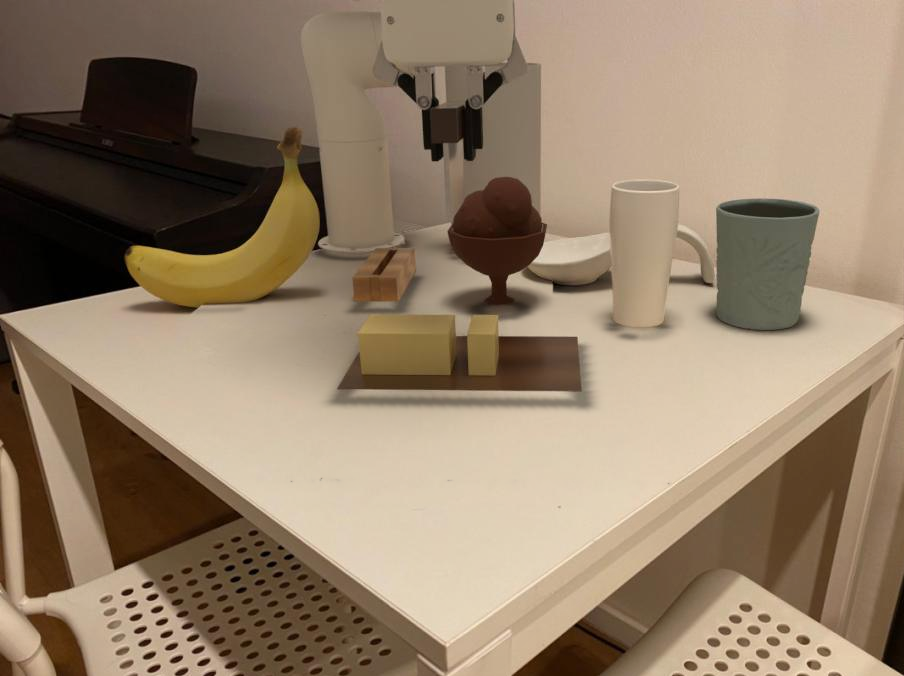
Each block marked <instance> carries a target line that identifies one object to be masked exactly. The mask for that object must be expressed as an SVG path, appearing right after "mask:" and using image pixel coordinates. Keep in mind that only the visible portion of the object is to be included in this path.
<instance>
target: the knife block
mask: <svg viewBox="0 0 904 676" xmlns="http://www.w3.org/2000/svg"><path fill="white" fill-rule="evenodd" d="M416 267H417V266H416V249H415V247H393V248H375V250H374V251H371V253H370V254H369V256H368V257H367V259H366V260H365V261H364V262H363V263H362V264H361V266H360V267H359V269H358V270H357V271H356V272H355V273H354V275H353V276H352V277H351V278H352V290H353V299H354V300H353V301H354V302H399V300H400V299H401V298H402V297H403V295H404V293H406V290H407V288H408V286H409V285H410V283H411V281H412V279H413V277H414V276H415V274H416V272H417V268H416Z"/></svg>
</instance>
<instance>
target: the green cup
mask: <svg viewBox="0 0 904 676" xmlns="http://www.w3.org/2000/svg"><path fill="white" fill-rule="evenodd" d="M819 215H820V209H819V208H818V207H817V206H816V205H814V204H811V203H808V202H805V201H799V200H792V199H783V198H741V199H734V200H727V201H723V202H721V203H719V204H717V206H716V208H715V218H716V220H715V221H716V223H715V224H716V261H715V263H716V264H715V265H716V290H717V294H716V316H717V318H718V319H719V320H720V321H722V322H723V323H725V324H728V325H730V326H734V327H736V328H740V329H741V328H742V329H747V330H752V331H753V330H754V331H776V330H777V331H778V330H785V329H790V328H791V327H793V326H795V325H796V324H797V323H798V320H799V318H800V314H801V308H802V301H803V295H804V292H805V287H806V283H807V276H808V273H809V272H808V271H809V266H810V258H811V257H812V246H813V243H814V240H815V236H816V231H817V225H818V220H819Z"/></svg>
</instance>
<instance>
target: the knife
mask: <svg viewBox="0 0 904 676" xmlns="http://www.w3.org/2000/svg"><path fill="white" fill-rule="evenodd" d="M465 109H466V108H465V101H448V102H446V101H445V102H444V103H441V104H439V105H438V106H436V107H433V108H431V109H430V119H431V140H432V143H443V154H444V157H443V172H444V173H443V176H444V201H445V221H446V223H451V221H452V220H453V218H454V216H455V215H456V213H457V212H458V210H459V208H460V207H461V205H462V204H463V202H464V174H463V143H462V139H463V138H464V132H463V111H464V110H465Z"/></svg>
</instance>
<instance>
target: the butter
mask: <svg viewBox="0 0 904 676" xmlns="http://www.w3.org/2000/svg"><path fill="white" fill-rule="evenodd" d="M456 328H457V327H456V315H455V314H400V313H399V314H398V313H397V314H394V313H393V314H390V313H389V314H387V313H386V314H384V313H382V314H381V313H380V314H378V313H376V314H375V313H373V314H371V313H369V315H368V317H367V318H366V319H365V321H364V323H363V324H362V326H361V327H360V329H359V331H358V332H357V340H358V348H359V349H358V350H359V351H360V361H361V372H362V375H451V371H452V368H453V365H454V361H455V358H456V355H457V351H456V336H457V331H456V330H457V329H456Z"/></svg>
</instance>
